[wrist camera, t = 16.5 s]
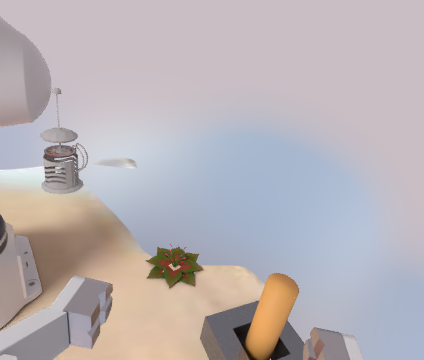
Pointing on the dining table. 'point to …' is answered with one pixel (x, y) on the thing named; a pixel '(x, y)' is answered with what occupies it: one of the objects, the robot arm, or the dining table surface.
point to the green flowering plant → (174, 256)
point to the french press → (69, 176)
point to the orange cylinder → (270, 316)
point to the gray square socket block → (244, 336)
